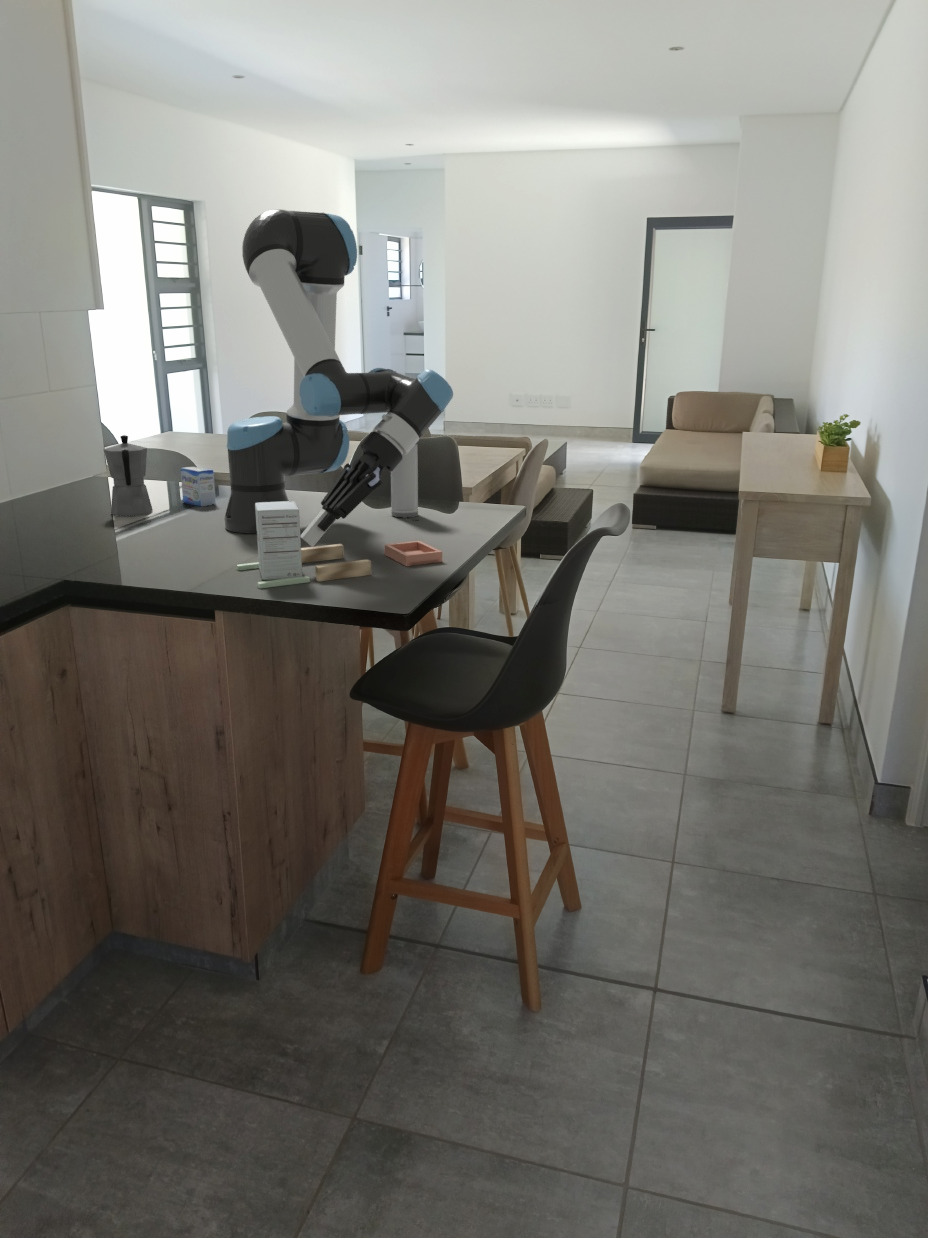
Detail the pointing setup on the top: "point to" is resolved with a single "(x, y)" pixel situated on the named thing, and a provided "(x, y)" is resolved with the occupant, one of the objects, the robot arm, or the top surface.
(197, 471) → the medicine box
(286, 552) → the supplement box
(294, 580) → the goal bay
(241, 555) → the top surface
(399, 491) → the travel mug
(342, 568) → the channel
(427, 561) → the pit tray
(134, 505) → the coffeepot
